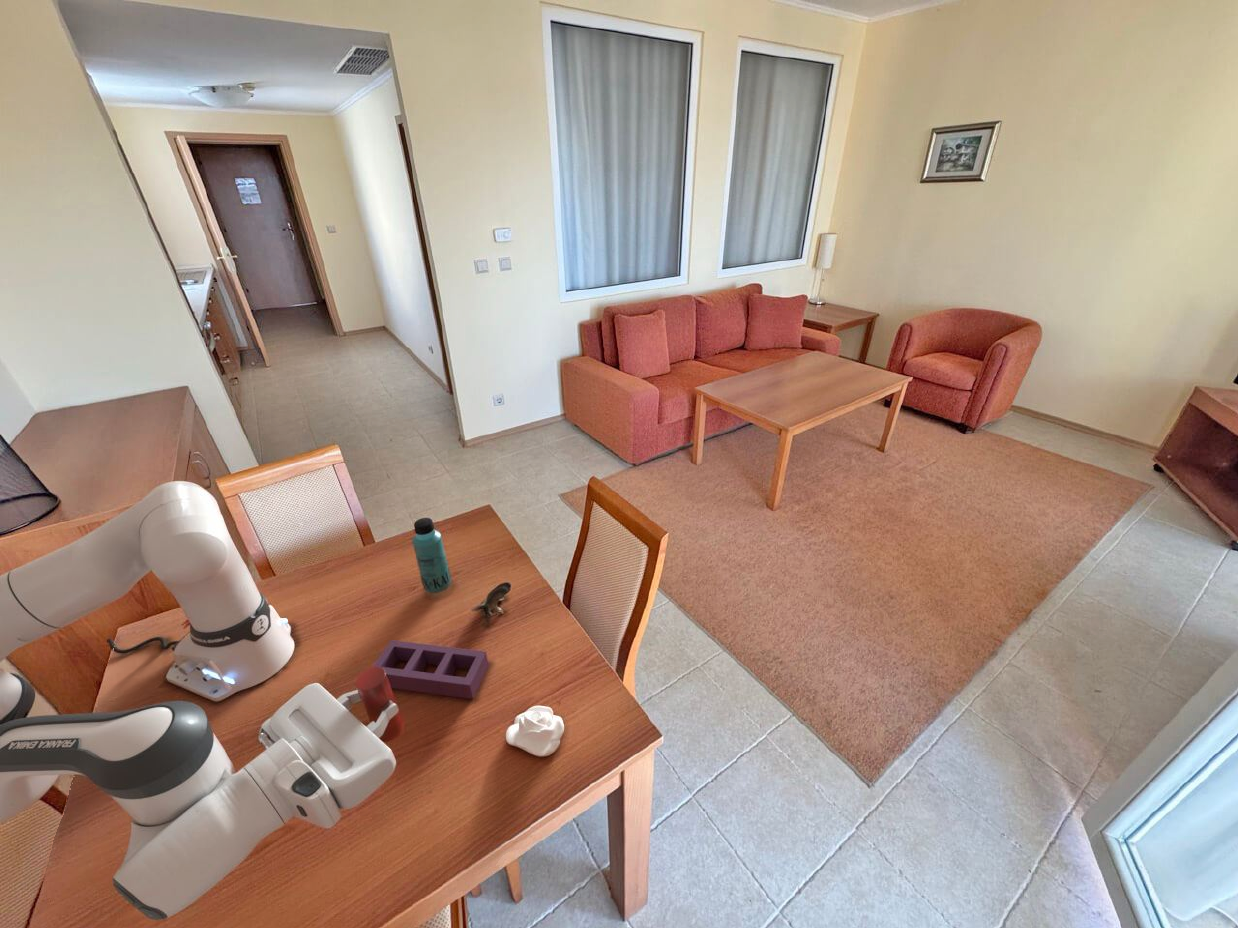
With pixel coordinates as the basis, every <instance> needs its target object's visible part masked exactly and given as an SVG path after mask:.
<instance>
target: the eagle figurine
mask: <svg viewBox="0 0 1238 928" xmlns="http://www.w3.org/2000/svg"><path fill="white" fill-rule="evenodd" d="M511 588H512V584H511V583H510V582H507V581H504V582H501V583H500V584H498V585H497V586H496V587H495V588H493V589H492V590H491V591H490V592H489V593H488V594H487V596H486V598H485V599H484V600H482V602H480V604H478V605H476V606H474V607H472V608H471V609H470V611H471V612H478V611H480V610H483V611H482V612H479V615H482V616H480V617H479V620H484V625H485V626H486V625H487V624H488V623H489V622H490V621H491V618H493V617H497V616H498V615H499V614H502V615H504V611H503V609H502V608H501V607H499V606H498V603H499V602H501V601H504V600H505V598H504V597H505V596H506V595H507V594H509V592H510V591H511Z"/></svg>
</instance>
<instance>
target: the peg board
mask: <svg viewBox="0 0 1238 928" xmlns="http://www.w3.org/2000/svg"><path fill="white" fill-rule="evenodd" d="M399 661H402V662H407V663H406V665H405V666H404V668H402V669H401V668H395V666H396V664H397V663H398V662H399ZM427 665H435V666H437V668H436V670H435V671H434V673H433V672H424V670H425V668H426V666H427ZM372 667H381V668H383V669H384V670H385V672H386V675H387V678H388V681H389V684H390V686H391V689H396V690H402V691H409V692H410V691H411V692H416V693H417V692H418V693H424V694H425V693H426V694H433V695H438V696H439V695H440V696H446V697H455V698H462V699H469V700H474V698H475V695H476V694H477V692H478V689H479V687H480V685H481V683H482V680H483V678H484V676H485V674H486V672H487V669H488V668H489V660H488V656H487V651H484V650H475V649H468V648H459V647H451V646H444V645H443V646H442V645H436V644H435V645H434V644H426V643H418V642H410V641H401V640H394V639H391V640H390V641H389V642H388V644H387V645H386V647H384V650H383V651H382V653H381V654H380V655H379V656H378V658H377V659H376V661H375V663H374V664H373V665H372ZM458 668H459V669H466V670H468V672H467V674H466V675H465V677H464V676H454V675H453V674H454V672H455V670H456V669H458Z"/></svg>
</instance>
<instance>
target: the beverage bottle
mask: <svg viewBox="0 0 1238 928" xmlns="http://www.w3.org/2000/svg"><path fill="white" fill-rule="evenodd" d="M413 526H414V533H415V535H414V536H413V538H412V540H411V543H412V545H413V550H414V554H415V559H416V562H417V567H418V568H417V569H418V571H419V574H420V575H419V576H420V580H421V583H422V587H423V589H424V591H425V592H427V593H428V594H439V593H442V592H444V591H446V590H447V589H448V588H449V587H450V586H451V580H452V579H451V578H452V577H451V572H450V567H449V564H448V560H447V555H446V552H445V548H444V543H443V539H442V538H443V537H442V534H441V532H440V531H439V530H436V529H435V524H434V522H433V519H432V518H430V517H423V518H422V517H421V518H419V519H417V520H416V521H415V522H414V523H413Z"/></svg>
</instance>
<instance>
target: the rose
mask: <svg viewBox="0 0 1238 928" xmlns="http://www.w3.org/2000/svg"><path fill="white" fill-rule="evenodd" d="M564 732H565V724H564V721H563V718H562V717H561V716H560V715H554V711H553V709H552V708H551V707H549V706H543V705H534V706H531V707H530V708H528V709H527V710H526V711H525V712H522V713H519V714H517V715H516V717H515V718H514V723H513V724H511V725H510V726H508V728H507V729H506V731H505V741H506V742H507V744H509V745H510V746H514V747H516V748H518V749H521V750H523V751H524V752H527V753H529V754H531V755H534V756H536V757H547V756H550V755H552V754H554V753H555V752H556V750H557V749H558V748H559V746H560V744H561V738H562V736H563V735H564Z"/></svg>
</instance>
